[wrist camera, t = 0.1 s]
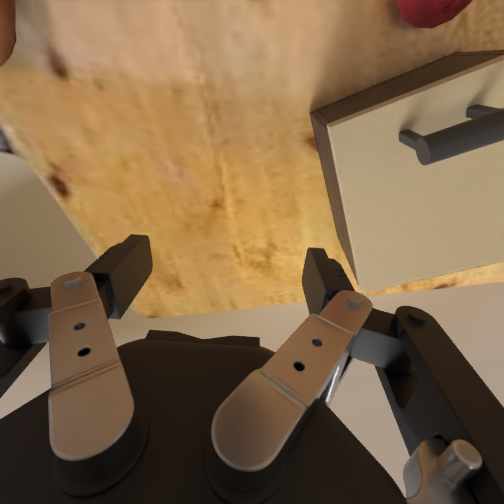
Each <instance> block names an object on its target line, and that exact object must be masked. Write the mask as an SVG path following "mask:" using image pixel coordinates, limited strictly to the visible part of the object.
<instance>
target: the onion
mask: <svg viewBox="0 0 504 504" xmlns="http://www.w3.org/2000/svg"><path fill="white" fill-rule="evenodd" d="M472 1H473V0H398V9H399V11H400V13H401V15H402V17H403V19H404V21H406V22H407V23H409V24H410V25H412V26H413V27H417V28H434V27H436V26H438V25H441V24H443V23H445V22H448V21H450V20H452V19H453V18H454V17H455V16H457V15H458V14H459V13H460V12H461V11H462V10H463V9H464V8H466V7H467V6H468V5H469V4H470V3H471V2H472Z"/></svg>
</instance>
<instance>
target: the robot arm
mask: <svg viewBox="0 0 504 504" xmlns="http://www.w3.org/2000/svg"><path fill="white" fill-rule="evenodd" d="M152 267H153V263H152V255H151V248H150V240H149V237H148V236H147V235H134V234H131V235H130V236H129V237H128V238H126V239H125V240H124V241H123V242H122V243H119V244H117V245H115V246H112V247H110V248H109V249H108V250H107V251H106V252H105V253H104V254H102V255H101V256H100V257H99V259H97V260H96V261H95V262H94V263H92V264H91V265H90V266H89V267H88V268H87V269H86V270H85V271H83V272H73V273H68V274H65V275H63V276H60V277H59V278H57V279H55V280H54V281H53V282H52V283H51V287H43V288H34V289H30V288H29V286H28V284H27V281H26V280H25V279H22V278H8V279H3V280H0V398H1V397H2V396H3V394H4V393H5V392H6V391H7V390H8V388H9V387H10V386H11V385H12V384H13V383H14V381H15V380H16V379H17V378H18V377H19V375H20V374H21V373H22V372H23V371H24V369H25V368H26V367H27V366H28V365H29V364H30V362H31V361H32V360H33V359H34V357H36V355H37V354H38V353H39V352H40V351H41V349H42V348H43V347H44V346H45V345H46V343H47V342H48V341H49V350H50V370H51V388H50V389H49V390H47V391H45V392H44V393H42V394H41V395H39V396H38V397H36V398H34V399H33V400H31V401H29V402H28V403H26V404H24V405H23V406H21V407H20V408H18V409H17V410H15V411H13V412H12V413H10V414H8V415H7V416H5V417H3V418H2V419H0V504H504V407H503V406H502V405H501V404H500V402H499V401H498V400H497V398H496V397H495V396H494V395H493V393H492V392H491V391H490V389H489V388H488V387H487V386H486V384H485V383H484V382H483V380H482V379H481V378H480V377H479V375H478V374H477V373H476V371H475V370H474V369H473V367H472V366H471V365H470V364H469V362H468V361H467V360H466V359H465V357H464V356H463V355H462V353H461V352H460V351H459V349H458V348H457V347H456V345H455V344H454V343H453V342H452V340H451V339H450V338H449V336H448V335H447V334H446V333H445V331H444V330H443V329H442V327H441V326H440V325H439V324H438V322H437V321H436V320H435V319H434V318H433V317H432V316H431V315H429V314H428V313H426V312H425V311H423V310H421V309H418V308H415V307H411V306H401V307H399V308H397V310H396V312H395V314H391V313H387V312H384V311H380V310H377V309H374V308H373V305H372V303H371V301H370V300H369V299H368V298H367V297H366V296H364V295H362V294H360V293H358V292H355V290H354V288H353V286H352V284H351V283H350V281H349V279H348V277H347V275H346V273H345V272H344V270H343V268H342V266H341V264H339V263H338V262H337V261H336V260H335V259H329V258H328V256H327V254H326V252H325V250H324V249H323V248H308V250H307V254H306V259H305V264H304V269H303V275H302V286H303V290H304V294H305V298H306V302H307V306H308V309H309V314H310V316H309V317H308V318H307V319H306V320H305V321H304V322H303V323H302V324H301V325H300V326H299V327H298V329H297V330H296V331H295V332H294V333H293V334H292V335H291V336H290V337H289V338H288V340H287V341H286V342H285V343H284V344H283V345H282V346H281V347H280V348H279V349H278V350H277V352H276V353H275V352H273V351H271V350H269V349H266V348H264V347H261V346H260V343H259V342H260V338H259V337H246V336H226V337H218V338H212V339H200V338H196V337H193V336H190V335H186V334H182V333H179V332H173V331H172V332H171V331H158V330H149V332H148V334H147V336H146V338H145V339H139V340H135V341H132V342H129V343H126V344H124V345H121V346H119V347H117V348H116V345H115V342H114V338H113V335H112V332H111V329H110V326H109V323H108V319H121V317H122V316H123V314H124V313H125V311H126V310H127V308H128V307H129V306H130V304H131V303H132V301H133V300H134V298H135V297H136V295H137V294H138V292H139V291H140V289H141V288H142V286H143V285H144V283H145V282H146V280H147V279H148V277H149V276H150V274H151V272H152ZM354 358H355V359H358V360H361V361H364V362H367V363H370V364H373V365H375V368H376V370H377V373H378V376H379V378H380V381H381V383H382V386H383V388H384V391H385V393H386V396H387V399H388V401H389V404H390V406H391V409H392V412H393V414H394V417H395V419H396V422H397V424H398V427H399V429H400V432H401V434H402V437H403V439H404V442H405V445H406V447H407V450H408V452H409V455H410V458H409V460H408V461H407V462H406V464H405V466H404V469H403V479H404V483H405V488H406V498H405V497H404V496H403V494H402V492H401V490H400V489H399V487H398V486H397V484H396V483H395V481H394V480H393V479H392V477H391V476H390V475H389V474H388V472H387V471H386V470H385V469H384V468H383V467H382V466H381V464H380V463H379V462H378V461H377V460H376V459H375V458H374V457H373V456H372V455H371V453H370V452H369V451H368V450H367V449H366V448H365V447H364V446H363V445H362V444H361V443H360V441H359V440H358V439H357V438H356V437H355V436H354V435H353V434H352V433H351V431H350V430H349V429H348V428H347V427H346V426H345V425H344V424H343V423H342V422H341V420H340V419H339V418H338V417H337V416H336V415H335V414H334V413H333V412H332V411H331V409H330V408H329V405H330V403H331V401H332V398H333V396H334V394H335V392H336V390H337V388H338V386H339V384H340V382H341V381H342V379H343V377H344V375H345V373H346V372H347V370H348V368H349V366H350V364H351V362H352V361H353V359H354Z"/></svg>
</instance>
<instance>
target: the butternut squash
mask: <svg viewBox="0 0 504 504" xmlns="http://www.w3.org/2000/svg"><path fill="white" fill-rule="evenodd" d="M15 43H16V33H15V0H0V67H1V66H2V65H3V64H4V63H5V62H6V61H7V60H8V59H9V58H10V56H11V54H12V52H13V49H14V46H15Z"/></svg>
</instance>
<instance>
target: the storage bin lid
mask: <svg viewBox="0 0 504 504" xmlns="http://www.w3.org/2000/svg"><path fill="white" fill-rule="evenodd" d="M327 129H328V134H329V139H330V144H331V150H332V155H333V160H334V165H335V170H336V175H337V180H338V185H339V190H340V195H341V200H342V205H343V210H344V215H345V220H346V225H347V230H348V235H349V240H350V245H351V250H352V255H353V260H354V265H355V270H356V275H357V280H358V285H359V288H360V290H361V293H367V292H371V291H375V290H380V289H384V288H389V287H393V286H398V285H402V284H406V283H411V282H415V281H420V280H424V279H428V278H433V277H437V276H442V275H446V274H451V273H455V272H459V271H464V270H468V269H473V268H477V267H482V266H486V265H490V264H495V263H499V262H504V55H502V56H500V57H497V58H494V59H492V60H489V61H487V62H484V63H482V64H479V65H477V66H474V67H472V68H469V69H466V70H464V71H461V72H459V73H456V74H454V75H451V76H449V77H446V78H443V79H441V80H438V81H436V82H433V83H431V84H428V85H426V86H423V87H421V88H418V89H415V90H413V91H410V92H408V93H405V94H403V95H400V96H398V97H395V98H392V99H390V100H387V101H385V102H382V103H380V104H377V105H375V106H372V107H370V108H367V109H364V110H362V111H359V112H357V113H354V114H352V115H349V116H347V117H344V118H341V119H339V120H336V121H334V122H331V123H329V124H327Z"/></svg>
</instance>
